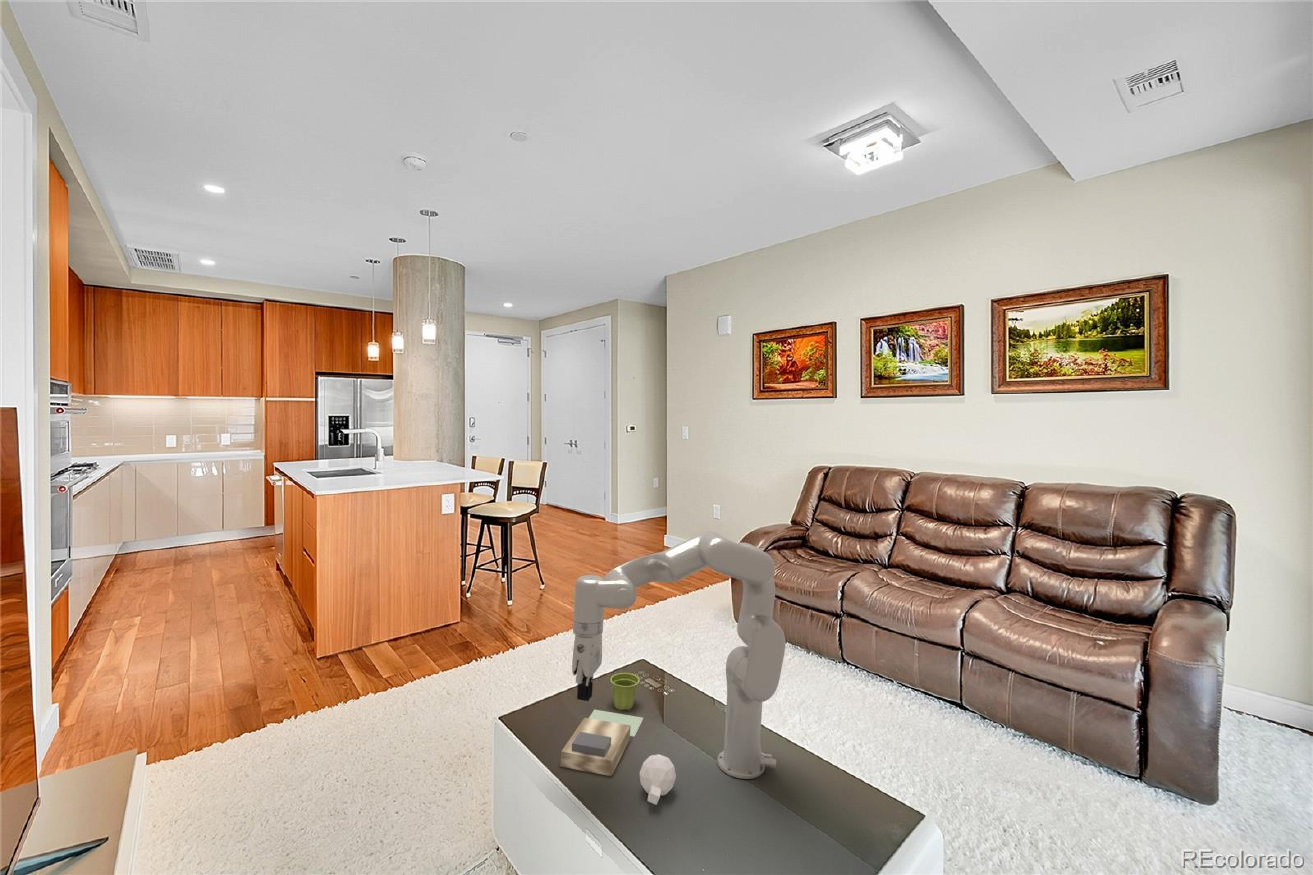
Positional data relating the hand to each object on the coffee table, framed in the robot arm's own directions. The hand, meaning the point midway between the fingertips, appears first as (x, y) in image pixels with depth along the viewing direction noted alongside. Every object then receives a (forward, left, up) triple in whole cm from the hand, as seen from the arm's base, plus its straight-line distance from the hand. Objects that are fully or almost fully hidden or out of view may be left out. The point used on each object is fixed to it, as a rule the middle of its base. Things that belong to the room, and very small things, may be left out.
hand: (584, 698), depth 141 cm
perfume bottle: (-19, 0, -21) cm, 29 cm away
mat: (0, -29, -21) cm, 36 cm away
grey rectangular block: (0, -8, -17) cm, 19 cm away
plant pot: (0, -40, -21) cm, 45 cm away
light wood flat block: (0, -13, -21) cm, 25 cm away
